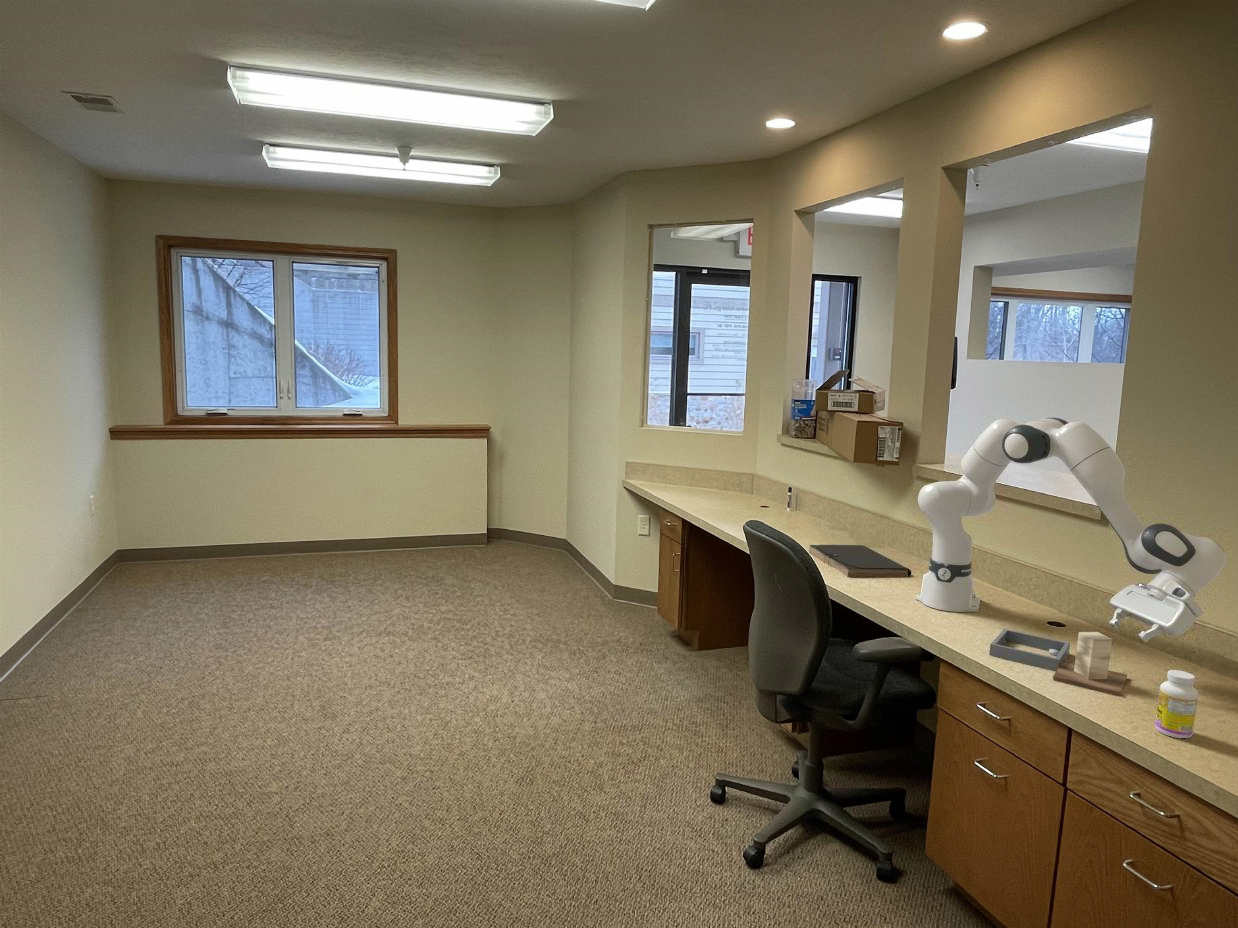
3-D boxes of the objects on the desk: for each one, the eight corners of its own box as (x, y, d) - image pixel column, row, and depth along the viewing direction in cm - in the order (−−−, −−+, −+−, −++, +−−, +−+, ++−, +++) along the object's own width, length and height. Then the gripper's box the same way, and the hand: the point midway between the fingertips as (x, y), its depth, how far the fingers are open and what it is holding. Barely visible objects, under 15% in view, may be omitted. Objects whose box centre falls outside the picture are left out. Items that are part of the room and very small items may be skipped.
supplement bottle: (1156, 722, 177) (1164, 665, 175) (1193, 732, 173) (1202, 673, 171) (1152, 732, 172) (1160, 673, 170) (1190, 743, 168) (1199, 683, 166)
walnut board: (1062, 663, 209) (1063, 659, 209) (1126, 678, 201) (1127, 674, 201) (1052, 679, 198) (1053, 675, 198) (1120, 696, 190) (1120, 692, 190)
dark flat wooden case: (808, 543, 314) (867, 544, 319) (807, 554, 315) (866, 554, 319) (847, 567, 282) (912, 567, 286) (846, 578, 283) (910, 578, 287)
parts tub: (1003, 639, 226) (1004, 628, 225) (1068, 653, 216) (1070, 642, 216) (989, 654, 213) (990, 643, 213) (1057, 671, 204) (1059, 659, 203)
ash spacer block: (1073, 671, 202) (1078, 632, 200) (1092, 670, 202) (1097, 631, 201) (1088, 679, 197) (1093, 639, 195) (1107, 678, 197) (1112, 639, 196)
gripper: (1129, 572, 208) (1089, 610, 208) (1195, 596, 188) (1151, 638, 188) (1142, 589, 210) (1103, 626, 210) (1209, 615, 190) (1166, 656, 190)
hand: (1126, 632), depth 199 cm, fingers open, 8 cm apart
